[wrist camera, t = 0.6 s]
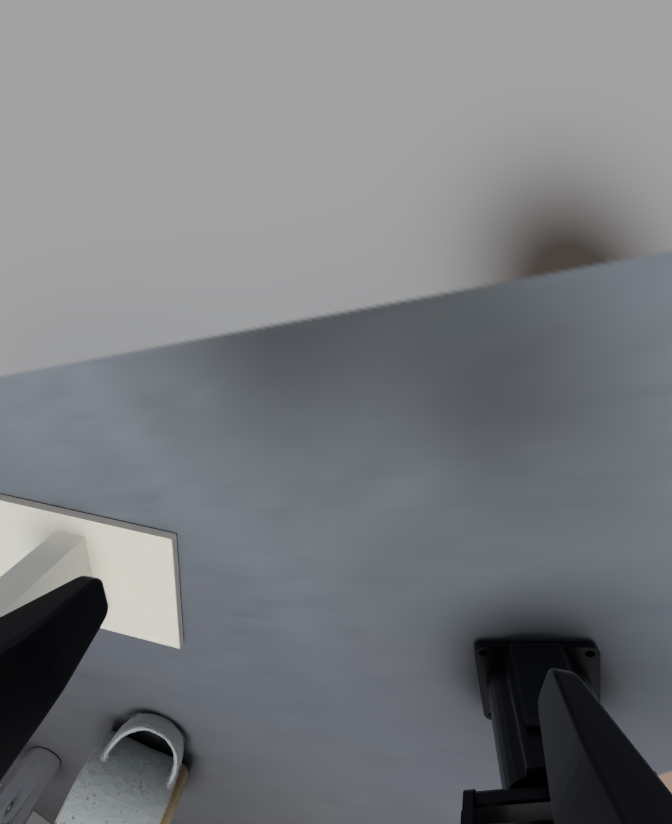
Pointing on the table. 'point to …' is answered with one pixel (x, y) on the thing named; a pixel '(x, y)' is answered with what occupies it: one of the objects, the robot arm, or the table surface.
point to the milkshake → (27, 785)
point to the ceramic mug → (129, 778)
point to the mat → (107, 564)
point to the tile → (44, 570)
